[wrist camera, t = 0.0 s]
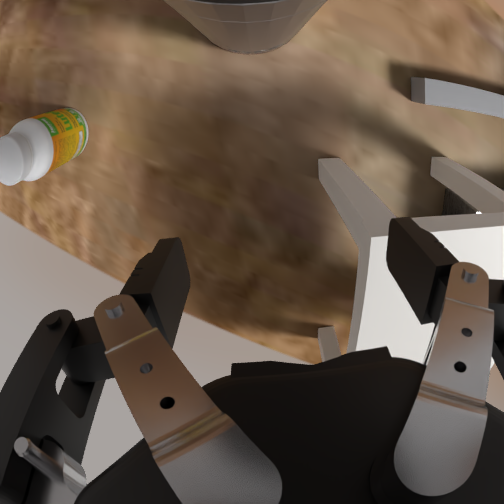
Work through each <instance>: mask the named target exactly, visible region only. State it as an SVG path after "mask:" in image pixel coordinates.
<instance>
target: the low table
mask: <svg viewBox="0 0 504 504" xmlns="http://www.w3.org/2000/svg"><path fill="white" fill-rule="evenodd" d="M318 169H319V180H320V182H321V184H322V185H323V187H324V189H325V190H326V192H327V194H328V195H329V197H330V199H331V200H332V202H333V204H334V205H335V207H336V209H337V211H338V212H339V214H340V216H341V218H342V219H343V221H344V223H345V225H346V226H347V228H348V230H349V232H350V233H351V235H352V237H353V239H354V241H355V243H356V244H357V246H358V248H359V257H358V268H357V279H356V288H355V297H354V306H353V313H352V321H351V328H350V335H349V342H348V348H347V353H350V352H354V351H360V350H367V349H373V348H379V347H384V346H387V347H388V349H389V352H390V354H391V357H399V358H405V359H410V360H413V361H416V362H419V363H421V364H422V362H423V359H424V357H425V354H426V351H427V347H428V344H429V341H430V338H431V335H432V332H433V329H434V326H435V324H434V323H428V324H423V325H421V324H420V322H419V320H418V318H417V317H416V315H415V313H414V311H413V310H412V308H411V306H410V304H409V303H408V301H407V299H406V298H405V296H404V294H403V293H402V291H401V289H400V288H399V286H398V284H397V283H396V281H395V279H394V278H393V276H392V275H391V273H390V271H389V270H388V267H387V263H386V251H387V242H388V231H389V223H390V220H391V219H392V218H397V217H396V216H395V215H394V214H393V213H392V212H391V211H390V210H389V208H388V207H387V206H386V205H385V204H384V203H383V202H382V201H381V200H380V199H379V198H378V197H377V195H376V194H375V193H374V192H373V191H372V190H371V189H370V188H369V187H368V186H367V185H366V184H365V183H364V182H363V181H362V180H361V179H360V178H359V177H358V176H357V175H356V174H355V173H354V172H353V171H352V170H351V169H350V168H349V167H348V166H347V165H346V164H345V163H344V162H343V161H342V160H341V159H340V158H323V159H318ZM430 176H432V177H433V178H435V179H436V180H438V181H439V182H441V183H442V184H443V185H445V186H446V187H448V188H449V189H450V190H452V191H453V192H455V193H456V194H457V195H459V196H460V197H461V198H463V199H464V200H465V201H467V202H468V203H469V204H470V205H472V206H473V207H474V208H476V209H477V210H478V211H479V212H481V213H480V214H463V215H446V216H430V217H415V218H411V219H412V220H413V221H414V222H415V223H416V224H418V225H419V226H420V227H421V228H423V229H424V230H426V231H428V232H430V233H432V234H433V235H434V236H435V237H436V238H437V239H438V240H439V242H441V243H442V244H443V245H444V246H445V248H447V249H448V250H449V251H450V252H451V253H452V254H453V255H454V257H455V258H456V259H457V260H458V261H459V262H469V263H473V264H475V265H478V266H480V267H481V268H482V269H484V270H485V271H486V273H487V274H488V277H489V279H498V280H504V191H503V190H501V189H500V188H498V187H497V186H495V185H494V184H492V183H490V182H489V181H487V180H486V179H484V178H482V177H481V176H479V175H477V174H476V173H474V172H472V171H471V170H469V169H467V168H465V167H464V166H462V165H460V164H458V163H457V162H455V161H453V160H451V159H449V158H447V157H432V160H431V173H430ZM318 342H319V347H320V352H321V357H322V362H324V361H327V360H330V359H333V358H336V357H339V356H341V352H340V348H339V344H338V340H337V336H336V332H335V329H334V326H330V327H322V328H318ZM494 363H495V362H494V360H493V358H492V357H491V366H490V369H491V367H492V366H493V364H494Z"/></svg>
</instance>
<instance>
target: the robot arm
mask: <svg viewBox="0 0 504 504" xmlns="http://www.w3.org/2000/svg"><path fill="white" fill-rule="evenodd" d="M163 1H165V2H166V3H167V4H168V5H169V6H171V7H172V8H173V9H174V10H176V11H177V12H178V13H179V14H180V15H181V16H183V17H184V18H185V19H186V20H187V21H188V22H190V23H191V24H192V25H193V26H194V27H195V28H196V29H198V30H199V31H200V32H201V33H202V34H203V35H204V36H206V37H207V38H208V39H209V40H210V41H211V42H212V43H214V44H215V45H217V46H219V47H220V48H222V49H225V50H228V51H231V52H234V53H240V54H260V53H265V52H269V51H272V50H274V49H277V48H279V47H281V46H282V45H284V44H286V43H287V42H289V41H290V40H291V39H292V38H293V37H294V36H295V35H296V34H297V33H298V32H299V31H300V30H301V28H302V27H303V26H304V25H305V24H306V23H307V22H308V21H309V20H310V19H311V17H312V16H313V15H314V14H315V13H316V12H317V11H318V10H319V9H320V8H321V7H322V5H323V4H324V3H325V2H326V1H327V0H163ZM386 263H387V267H388V270H389V271H390V273H391V275H392V276H393V278H394V279H395V281H396V283H397V284H398V286H399V288H400V289H401V291H402V293H403V294H404V296H405V298H406V299H407V301H408V303H409V304H410V306H411V308H412V310H413V311H414V313H415V315H416V317H417V318H418V320H419V322H420V324H421V325H423V324H428V323H434V324H435V326H434V329H433V332H432V335H431V338H430V341H429V344H428V347H427V351H426V354H425V357H424V359H423V362H422V364H421V363H419V362H416V361H413V360H410V359H405V358H399V357H391V354H390V352H389V349H388V347H387V346H384V347H379V348H373V349H367V350H360V351H354V352H350V353H347V354H344V355H341V356H339V357H336V358H333V359H330V360H327V361H324V362H321V363H318V364H315V365H305V364H295V363H284V362H276V361H263V362H248V363H233V364H232V367H231V375H229V376H225V377H222V378H220V379H216V380H214V381H212V382H210V383H208V384H206V385H204V386H203V387H201V386H200V385H199V384H198V383H197V381H196V380H195V379H194V378H193V376H192V375H191V374H190V372H189V371H188V370H187V368H186V367H185V366H184V365H183V363H182V362H181V360H180V359H179V358H178V356H177V355H176V354H175V352H174V351H173V350H172V348H173V345H174V341H175V337H176V334H177V330H178V327H179V323H180V319H181V316H182V313H183V309H184V306H185V302H186V299H187V295H188V292H189V289H190V275H189V270H188V266H187V262H186V258H185V254H184V250H183V246H182V242H181V240H180V238H179V237H176V238H167V239H160V240H159V241H158V243H157V245H156V246H155V248H154V250H153V251H152V253H148V254H146V255H145V256H144V257H143V258H142V259H140V260H139V262H138V263H137V265H136V267H135V268H134V269H135V270H133V272H132V273H131V277H129V279H128V280H127V282H126V284H125V286H124V287H123V289H122V291H121V293H120V294H119V295H116V296H112V297H110V298H107V299H106V300H104V301H103V302H101V303H100V304H99V305H98V306H97V307H96V309H95V311H94V316H93V317H89V318H85V319H82V320H78V321H75V319H74V318H73V315H72V313H71V312H70V311H68V310H64V309H63V310H57V311H54V312H52V313H50V314H48V315H47V316H46V317H44V318H43V319H42V321H41V322H40V323H39V325H38V326H37V328H36V330H35V331H34V333H33V334H32V336H31V338H30V339H29V341H28V343H27V344H26V346H25V348H24V350H23V351H22V353H21V355H20V357H19V358H18V360H17V362H16V363H15V365H14V367H13V369H12V371H11V373H10V375H9V377H8V378H7V380H6V382H5V384H4V386H3V388H2V390H1V392H0V504H504V412H502V411H500V410H499V409H497V408H496V407H494V406H492V405H490V404H489V403H487V402H486V401H485V399H486V393H487V388H488V381H489V374H490V366H491V357H492V358H493V360H494V362H495V364H496V366H497V367H498V369H499V371H500V373H501V375H502V377H503V379H504V280H498V279H489V277H488V274H487V273H486V271H485V270H484V269H482V268H481V267H480V266H478V265H475V264H473V263H469V262H459V261H458V260H457V259H456V258H455V257H454V255H453V254H452V253H451V252H450V251H449V250H448V249H447V248H445V246H444V245H443V244H442V243H441V242H439V240H438V239H437V238H436V237H435V236H434V235H433V234H432V233H430V232H428V231H426V230H424V229H423V228H421V227H420V226H419V225H418V224H416V223H415V222H414V221H413V220H412V219H411V218H410V217H402V218H392V219H391V220H390V223H389V231H388V242H387V251H386ZM61 368H62V370H63V371H64V372H65V374H66V375H67V376H66V378H65V380H64V383H63V385H62V388H61V390H60V392H59V395H58V394H57V392H56V386H55V384H56V379H57V377H58V375H59V373H60V370H61ZM110 378H115V379H116V381H117V383H118V385H119V388H120V390H121V392H122V394H123V396H124V398H125V401H126V402H127V405H128V407H129V409H130V411H131V413H132V415H133V417H134V419H135V421H136V423H137V425H138V427H139V429H140V431H141V432H142V434H143V436H144V438H143V439H142V440H140V441H139V442H138V443H137V444H136V445H135V446H134V447H132V448H131V449H130V450H129V451H128V452H126V453H125V454H124V455H123V456H122V457H121V458H119V459H118V460H117V461H116V462H115V463H113V464H112V465H111V466H110V467H109V468H107V469H106V470H105V471H104V472H102V473H101V474H100V475H99V476H98V477H96V478H95V479H94V480H92V482H90V483H89V484H88V485H87V484H86V474H85V471H84V469H83V467H82V466H81V463H82V459H83V455H84V451H85V447H86V443H87V440H88V436H89V433H90V429H91V426H92V422H93V419H94V415H95V412H96V409H97V405H98V402H99V399H100V396H101V393H102V389H103V386H104V383H105V380H106V379H110Z"/></svg>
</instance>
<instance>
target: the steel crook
mask: <svg viewBox="0 0 504 504" xmlns="http://www.w3.org/2000/svg"><path fill="white" fill-rule="evenodd" d="M500 189H501V190H503V191H504V188H500ZM480 213H481V212H479V211H478V210H477V209H476V208H474V207H473V206H472V205H470V204H469V203H468V202H467V201H465V200H464V199H463V198H461V197H460V196H459V195H457V194H456V193H455V192H453V191H452V190H450V189H449V188H446V190H445V198H444V205H443V211H442V216H446V215H463V214H480Z"/></svg>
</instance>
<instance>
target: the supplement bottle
mask: <svg viewBox="0 0 504 504" xmlns="http://www.w3.org/2000/svg"><path fill="white" fill-rule="evenodd" d="M87 140H88V125H87V122H86V120H85V118H84V116H83V115H82V114H81V113H80V112H79V111H77V110H75V109H72V108H62V109H58V110H54V111H51V112H47V113H44V114H40V115H37V116H34V117H30V118H27V119H24V120H22V121H20V122H18V123H17V124H16V125H14V126H13V128H12V129H11V130H10V132H9V134H7V135H5V136H2V137H0V182H1V183H3V184H5V185H8V186H10V185H14V184H16V183H18V182H20V181H22V180H24V181H34V180H37V179H39V178H41V177H43V176H44V175H46V174H48V173H49V172H51V171H53V170H54V169H56V168H58V167H59V166H61V165H63V164H64V163H66V162H68V161H70V160H72V159H73V158H75V157H77V156H78V155H79V154H80V153H81V152H82V151H83V150H84V148H85V146H86V144H87Z"/></svg>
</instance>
